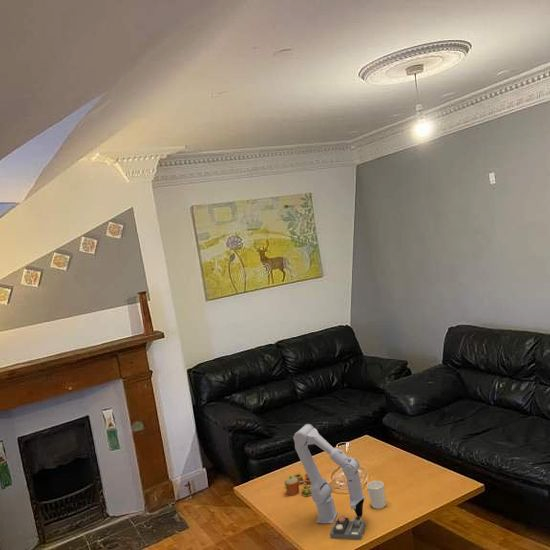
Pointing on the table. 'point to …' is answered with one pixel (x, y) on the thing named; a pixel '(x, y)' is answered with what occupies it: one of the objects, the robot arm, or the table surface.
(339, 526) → the cream button
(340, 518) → the terracotta button
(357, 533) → the control panel
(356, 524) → the slider knob
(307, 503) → the table surface
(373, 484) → the white cup
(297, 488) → the potted succulent plants
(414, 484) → the table surface
